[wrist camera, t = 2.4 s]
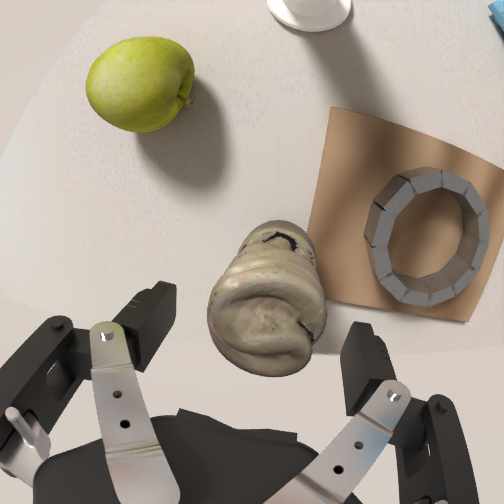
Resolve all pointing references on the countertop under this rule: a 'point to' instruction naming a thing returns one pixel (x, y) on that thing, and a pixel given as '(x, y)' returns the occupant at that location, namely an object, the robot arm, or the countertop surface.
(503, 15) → the teapot
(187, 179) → the countertop surface
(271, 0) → the candle
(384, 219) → the ring seat
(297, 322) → the light bulb
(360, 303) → the board
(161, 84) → the apple
